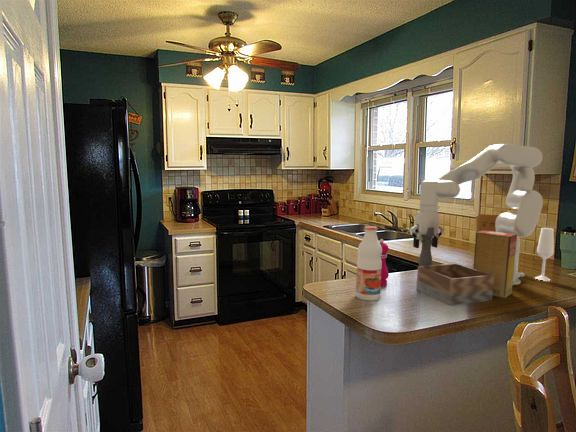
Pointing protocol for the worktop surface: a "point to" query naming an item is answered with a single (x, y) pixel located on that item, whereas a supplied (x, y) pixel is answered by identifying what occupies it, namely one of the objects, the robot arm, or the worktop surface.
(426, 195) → the robot arm
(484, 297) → the open box
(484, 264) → the food packaging
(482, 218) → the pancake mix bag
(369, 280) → the fruit juice
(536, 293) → the worktop surface
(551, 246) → the champagne flute
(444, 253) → the worktop surface
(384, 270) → the pepper mill
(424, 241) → the candle holder
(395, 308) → the worktop surface
